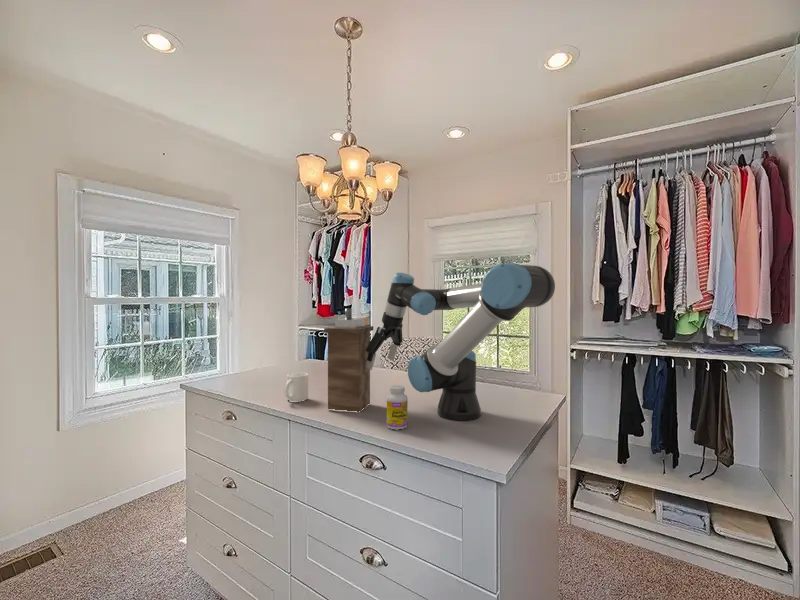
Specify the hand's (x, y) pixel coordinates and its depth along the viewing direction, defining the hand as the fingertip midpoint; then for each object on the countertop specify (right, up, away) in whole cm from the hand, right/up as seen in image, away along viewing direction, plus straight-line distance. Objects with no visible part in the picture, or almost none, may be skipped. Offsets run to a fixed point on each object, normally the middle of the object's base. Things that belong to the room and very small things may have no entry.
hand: (379, 364), depth 149 cm
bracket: (-10, +15, +1) cm, 18 cm away
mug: (-34, -15, +4) cm, 37 cm away
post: (-11, -15, -4) cm, 19 cm away
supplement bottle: (+7, -16, -26) cm, 31 cm away
